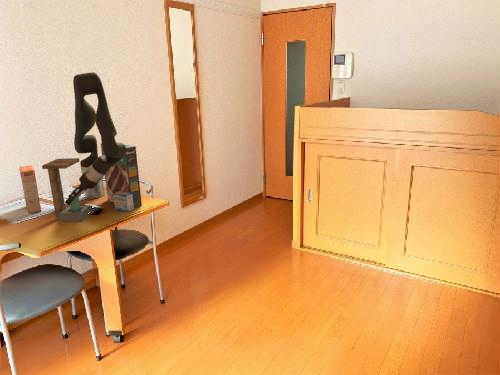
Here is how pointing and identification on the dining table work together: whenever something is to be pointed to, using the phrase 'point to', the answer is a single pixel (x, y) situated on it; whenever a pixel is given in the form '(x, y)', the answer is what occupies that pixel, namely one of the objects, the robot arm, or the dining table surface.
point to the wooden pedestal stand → (58, 181)
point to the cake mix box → (124, 176)
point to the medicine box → (123, 201)
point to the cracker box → (30, 189)
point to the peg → (75, 204)
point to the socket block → (75, 214)
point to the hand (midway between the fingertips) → (71, 200)
